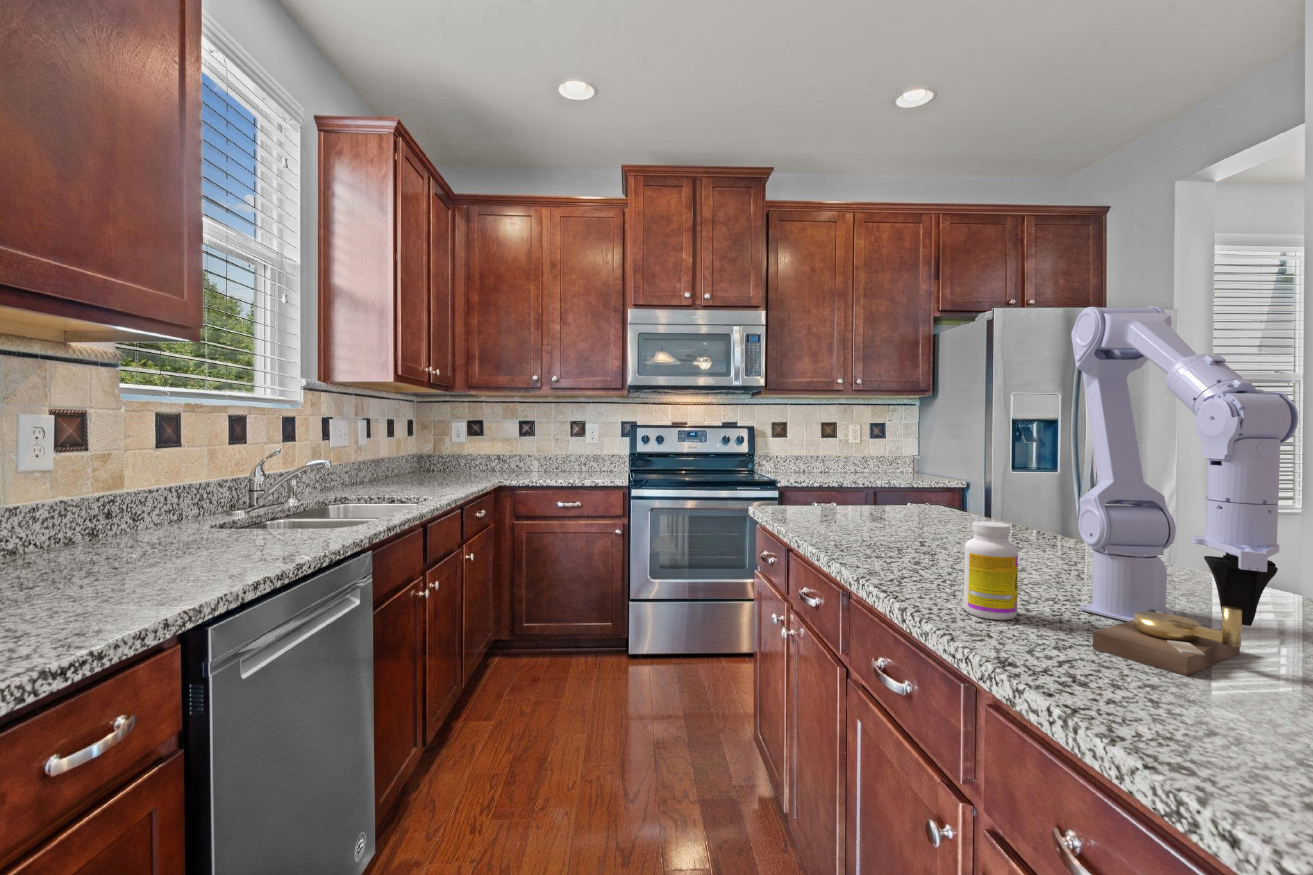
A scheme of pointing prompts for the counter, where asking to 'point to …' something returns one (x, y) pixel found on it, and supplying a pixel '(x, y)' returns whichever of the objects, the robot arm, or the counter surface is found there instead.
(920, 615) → the counter surface
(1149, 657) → the stand
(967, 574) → the supplement bottle
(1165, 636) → the gold door handle
